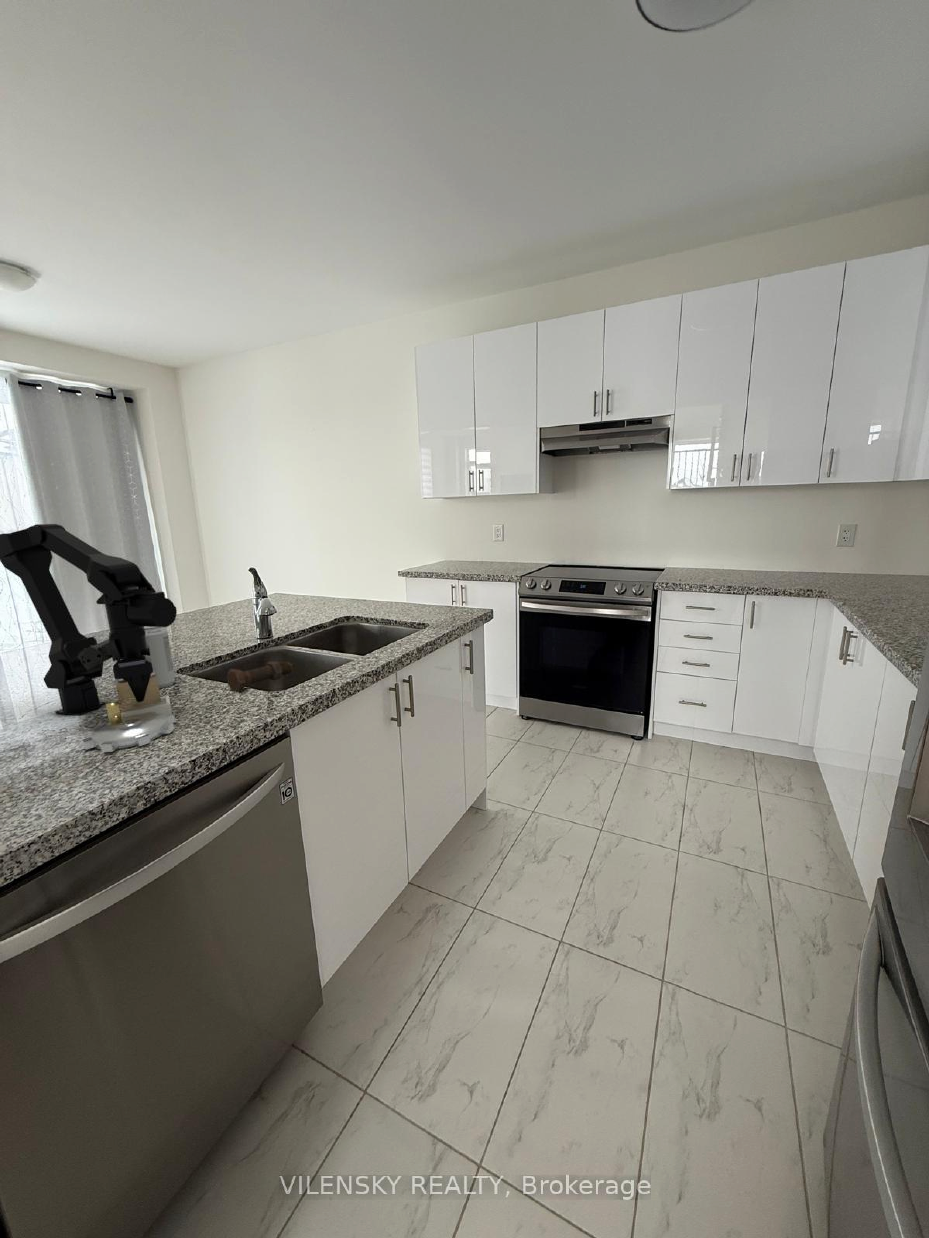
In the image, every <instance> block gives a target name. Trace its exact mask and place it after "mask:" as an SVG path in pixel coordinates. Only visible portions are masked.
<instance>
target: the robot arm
mask: <svg viewBox="0 0 929 1238" xmlns="http://www.w3.org/2000/svg"><path fill="white" fill-rule="evenodd" d="M52 553H54V554H55V555H56V556H58V557H60V558H61V559H63V560H64V561H66V562H67V563H69V564H71V565H73V566H74V567H76V568H77V569H79V570H81V571H82V573H85V574H86V580H87V582H88V583H89V584H90V585H92V586H93V587H94V588H95V589H96V590H97V591H98V592H99V593H101V596H100V597H99V598H98V599H97V600H96V604H97V605H105V606H104V607H105V613H106V618H107V621H108V623H107V624H108V628H109V633H108V639H105V640H104V641H100V642H98V641H97V639H96V638H95V637H94V636H90V637H87V636H85V635H83V634H82V633H80V631H79V629H78V626H77V625H76V623H75V620H74V618H73V617H72V615H71V614H72V613H71V612H70V611H69V608H68V606H67V604H66V602H65V600H64V598H63V595H62V594H61V592H60V590H59V586H58V585H57V583H56V582H55V581H56V580H55V578H54V577H53V575H52V573H51V571H50V569H51V565H52V560H53V554H52ZM0 563H1V564H2V566H3V567H4V568H5V569H6V570H8V571H9V572H11V573H12V574H14V575H15V576H17V577H18V578H20V580H21V582H22V585H23V586H24V588H25V591H26V592H27V595H28V596H29V598H30V601H31V602H32V605H33V607H34V608H35V610H36V613H37V614H38V617H39V619H40V621H41V623H42V625H43V627H44V629H45V631H46V633H47V635H48V637H49V639H50V642H51V644H50V647H49V651H48V652H49V653H48V659H49V660H48V661H49V662H50V666H49V669H48V671H47V672H46V674H45V675H44V677H43V681H44V683H45V686H46V688H48V689H55V690H57V691H58V695H59V700H60V706H61V709H58V710H56V711H55V714H56V715H69V716H71V715H72V716H73V715H74V716H81V715H84V714H85V713H87V712H89V711H92V710H94V709H97V708H100V707H102V706H104V705H106V703H107V702H106V701H101V700H100V698H99V693H98V692H99V691H98V689H97V686H96V683H95V682H96V681H95V679H97V678H101V677H103V670H104V669H103V668H104V662H106V661H108V660H110V659H112V661H113V662H115V661H116V662H115V663H114V664H113V667H112V672H113V678H114V680H117V679H124V680H126V681H127V682H128V684H129V686H130V688H131V690H132V692H133V694H134V696H135V698H136V701H137V702H142V701H144V698H145V694H146V690H147V687H148V683H149V680H150V677H151V673H153V667H152V662H151V659H149V658H148V657H146V656H144V655H147V656H151V655H150V650H149V645H148V644H147V641H146V635H145V629H144V626H147V627H164V628H166V627H167V628H168V627H170V626H171V625H172V624H173V623H174V622H175V620H176V617H177V615H178V614H177V613H178V612H177V607H176V606H175V603H174V602H173V601H172V600H171V599H169V598H168V597H166V594H165V592H164V591H156V590H155V588H154V587H153V584H152V583H150V582H149V581H148V579H147V578H146V576H145V575H144V573H143V572H142V571H141V570H140V568H139V567H138V565H137V564H136V563H135V562H132V561H131V560H128V559H125V558H122V557H117V556H112V555H108V554H105V553H103V552H102V551H99V550H98V549H97V548H95V547H93V546H92V545H90V544H88V543H87V542H85V540H82V539H80V538H79V537H77V536H75V535H74V534H72V533H70V532H69V531H68V530H66V529H65V527H64V526H63V525H61V524H57V523H40V524H33V525H31V526H28V527H27V528H24V529H21V530H17V531H13V532H9V533H8V532H7V533H0ZM97 642H98V643H97Z"/></svg>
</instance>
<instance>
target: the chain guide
mask: <svg viewBox="0 0 929 1238" xmlns="http://www.w3.org/2000/svg"><path fill="white" fill-rule="evenodd" d="M160 698H161V702H159V703H154V704H150V705H145V706H140V707H135V708H130V709H125V710H121V708H120V712H121V717H123V716H124V717H128V716H132V715H138V714H145V713H146V712H156V713H158V714H163V715H167V714H170V713H171V714H173V712H172V711H173V710H172V707H171V701H170V696H169V695H164V696H160ZM119 707H120V704H119Z"/></svg>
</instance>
